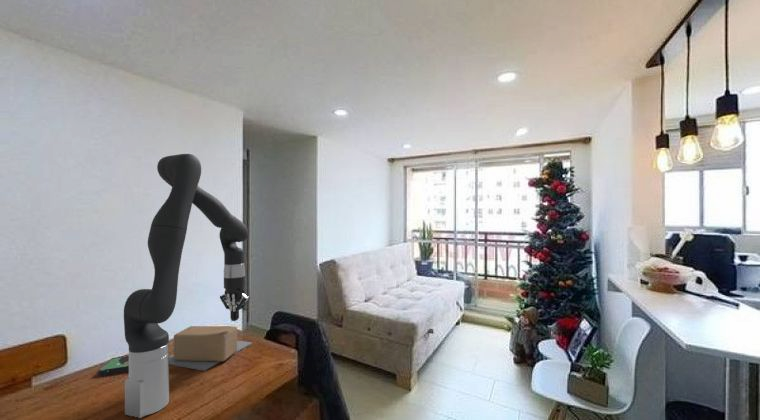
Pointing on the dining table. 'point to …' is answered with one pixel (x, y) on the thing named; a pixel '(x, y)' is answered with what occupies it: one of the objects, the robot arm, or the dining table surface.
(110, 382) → the dining table surface
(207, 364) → the mat
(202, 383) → the dining table surface
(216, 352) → the wooden block
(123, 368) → the disk drive
